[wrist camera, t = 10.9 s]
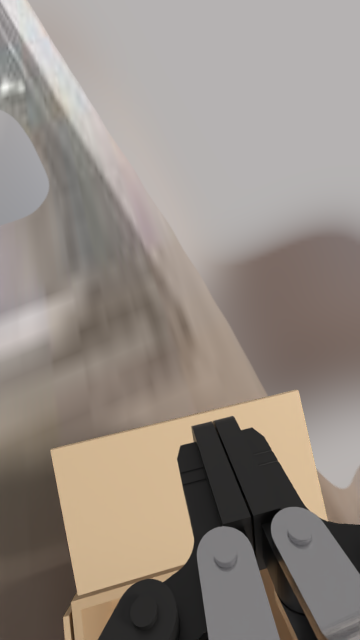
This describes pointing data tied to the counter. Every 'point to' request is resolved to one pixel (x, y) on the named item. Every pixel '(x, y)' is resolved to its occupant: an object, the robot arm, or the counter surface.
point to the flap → (160, 489)
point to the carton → (98, 606)
